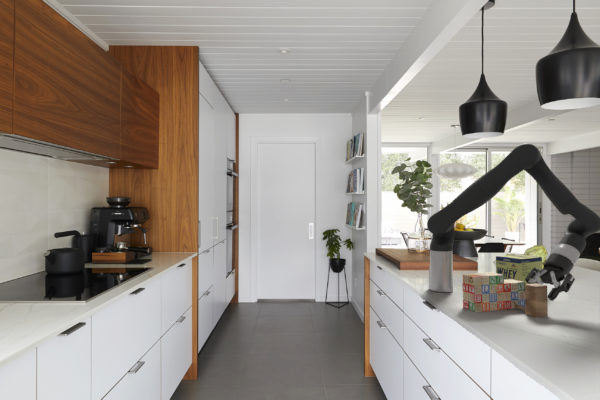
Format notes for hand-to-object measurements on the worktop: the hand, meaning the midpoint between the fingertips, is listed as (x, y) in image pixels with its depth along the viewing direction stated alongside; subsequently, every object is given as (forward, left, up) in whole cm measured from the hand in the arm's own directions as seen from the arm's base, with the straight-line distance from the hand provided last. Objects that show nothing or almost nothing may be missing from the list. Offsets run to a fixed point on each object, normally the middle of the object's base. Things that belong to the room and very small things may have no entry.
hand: (537, 296), depth 127 cm
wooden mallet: (-3, -1, -6) cm, 7 cm away
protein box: (-26, +21, -7) cm, 34 cm away
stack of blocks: (-12, -6, -7) cm, 15 cm away
